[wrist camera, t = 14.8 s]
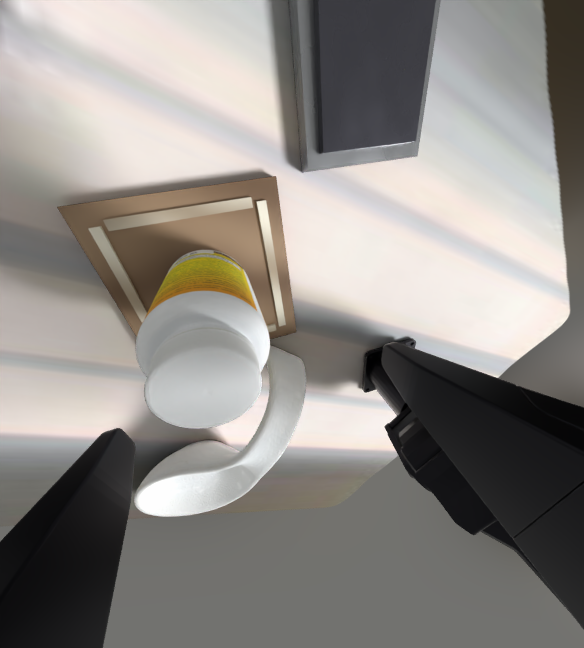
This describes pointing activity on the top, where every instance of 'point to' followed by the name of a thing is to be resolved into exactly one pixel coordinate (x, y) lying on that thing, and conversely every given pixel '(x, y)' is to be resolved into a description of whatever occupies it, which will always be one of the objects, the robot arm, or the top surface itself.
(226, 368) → the supplement bottle
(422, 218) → the top surface
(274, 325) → the brown flat square
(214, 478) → the spoon rest
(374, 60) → the pad
